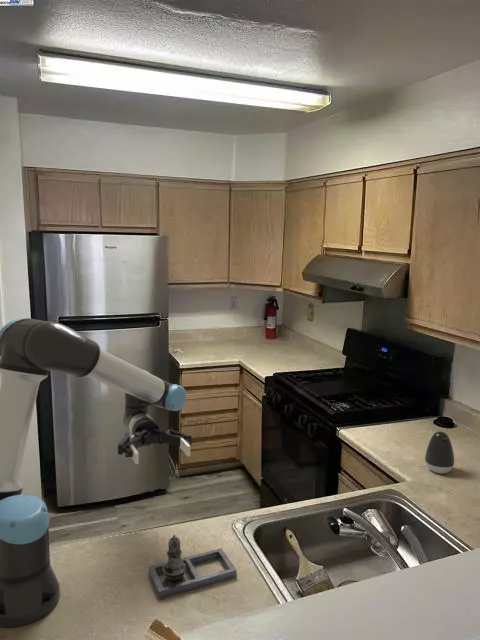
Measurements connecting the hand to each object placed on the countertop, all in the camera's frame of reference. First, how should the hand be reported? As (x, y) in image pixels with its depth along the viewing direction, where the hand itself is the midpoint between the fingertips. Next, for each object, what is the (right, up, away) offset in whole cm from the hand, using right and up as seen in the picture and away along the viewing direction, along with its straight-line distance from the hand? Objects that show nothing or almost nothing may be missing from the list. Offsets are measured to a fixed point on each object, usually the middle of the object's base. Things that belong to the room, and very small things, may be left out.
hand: (163, 454), depth 123 cm
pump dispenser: (+94, -22, +57) cm, 112 cm away
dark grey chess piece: (+4, -29, -6) cm, 30 cm away
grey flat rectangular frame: (+8, -29, -4) cm, 30 cm away
